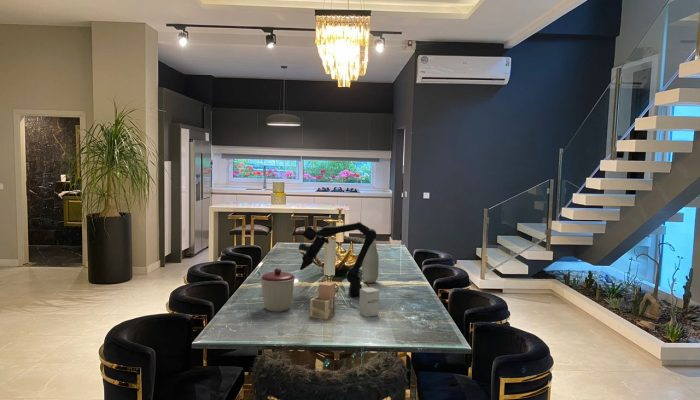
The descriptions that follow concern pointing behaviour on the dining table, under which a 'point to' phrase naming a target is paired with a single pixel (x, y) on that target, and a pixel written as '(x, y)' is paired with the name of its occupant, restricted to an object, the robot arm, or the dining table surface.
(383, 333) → the dining table surface
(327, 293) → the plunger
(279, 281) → the canister
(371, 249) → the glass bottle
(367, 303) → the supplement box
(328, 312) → the sleeve
